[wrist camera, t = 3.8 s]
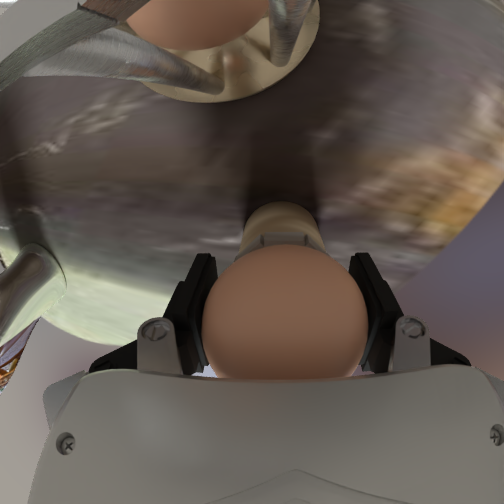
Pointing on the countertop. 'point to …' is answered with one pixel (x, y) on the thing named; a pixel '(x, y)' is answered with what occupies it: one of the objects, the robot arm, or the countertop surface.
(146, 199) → the countertop surface
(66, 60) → the cage tube
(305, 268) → the terracotta ball
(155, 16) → the ball
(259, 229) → the stand
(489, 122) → the countertop surface
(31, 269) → the beer glass
